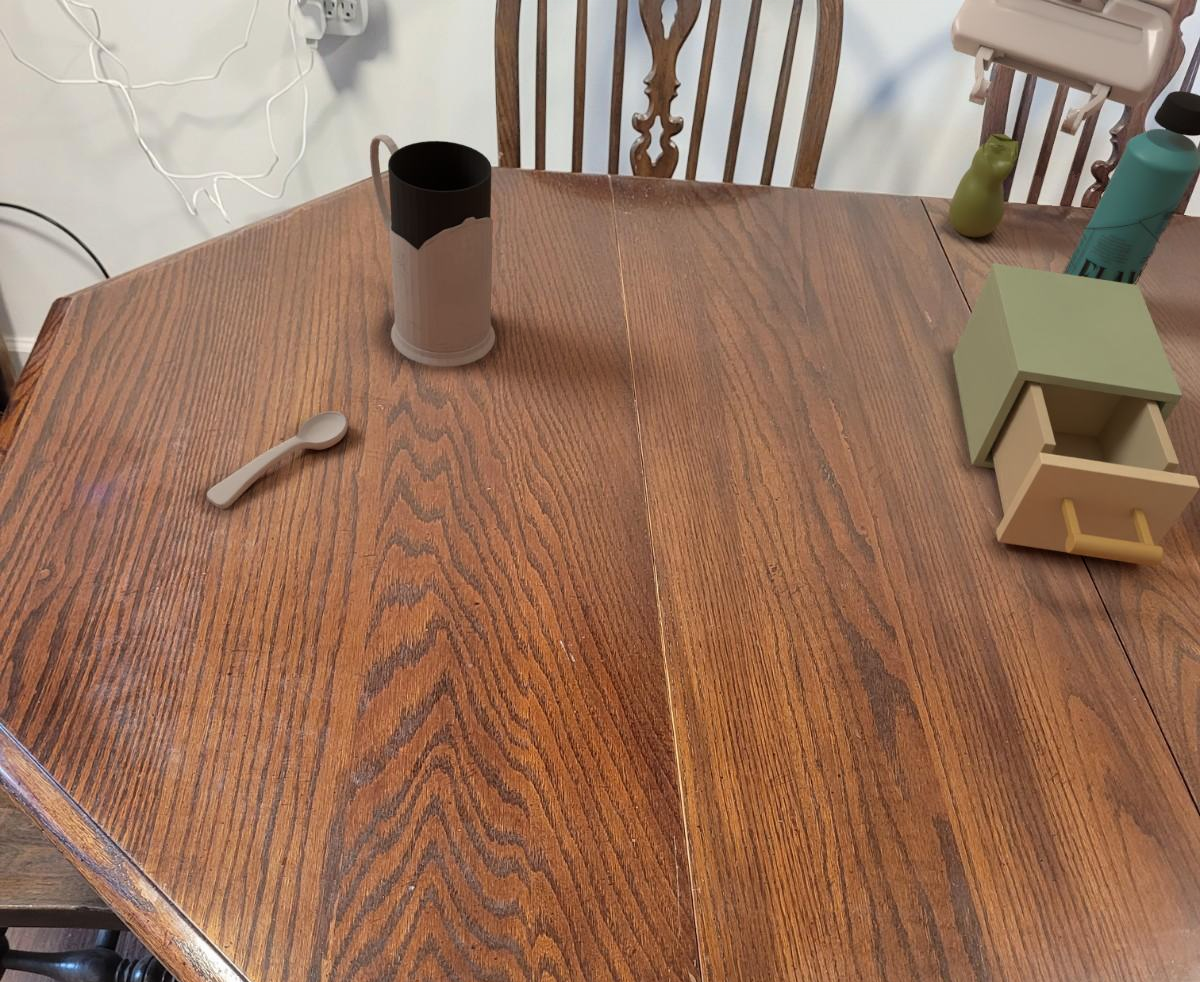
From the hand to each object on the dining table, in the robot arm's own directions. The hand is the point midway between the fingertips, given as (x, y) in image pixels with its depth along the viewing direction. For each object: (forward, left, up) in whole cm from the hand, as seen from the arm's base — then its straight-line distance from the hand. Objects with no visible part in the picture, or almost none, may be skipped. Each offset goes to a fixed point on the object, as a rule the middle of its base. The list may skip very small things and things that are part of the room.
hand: (1021, 116), depth 103 cm
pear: (+2, +5, -10) cm, 12 cm away
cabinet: (0, +35, -10) cm, 37 cm away
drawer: (0, +47, -9) cm, 48 cm away
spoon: (+58, +54, -10) cm, 80 cm away
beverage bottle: (-8, +16, -10) cm, 21 cm away
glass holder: (+52, +34, -10) cm, 63 cm away
